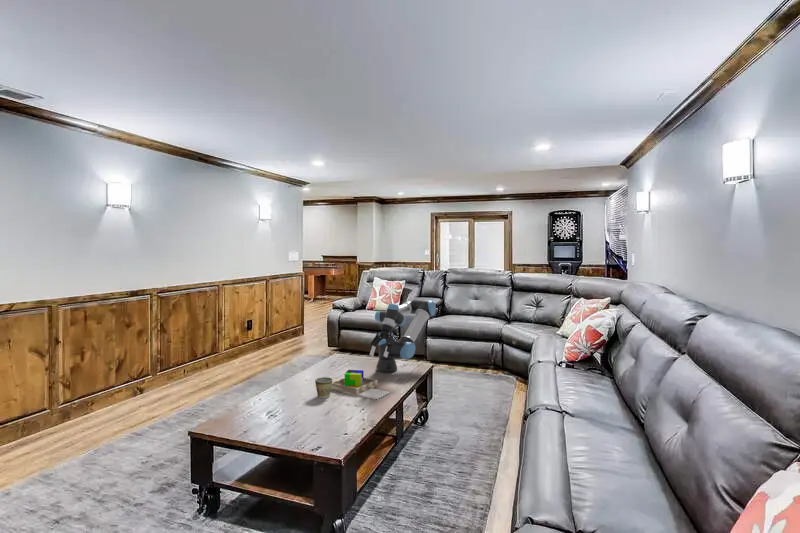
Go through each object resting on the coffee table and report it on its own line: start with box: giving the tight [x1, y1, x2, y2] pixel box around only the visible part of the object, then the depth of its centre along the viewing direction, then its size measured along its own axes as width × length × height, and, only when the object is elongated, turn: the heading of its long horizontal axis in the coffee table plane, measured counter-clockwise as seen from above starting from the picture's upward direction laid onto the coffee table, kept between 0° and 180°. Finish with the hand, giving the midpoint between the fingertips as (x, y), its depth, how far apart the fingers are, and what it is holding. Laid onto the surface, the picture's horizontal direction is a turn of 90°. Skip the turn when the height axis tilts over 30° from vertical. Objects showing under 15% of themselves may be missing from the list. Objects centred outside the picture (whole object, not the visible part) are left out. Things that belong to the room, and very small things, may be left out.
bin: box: [331, 377, 378, 396], centre depth 271 cm, size 21×21×4 cm
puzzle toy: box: [344, 369, 365, 388], centre depth 271 cm, size 10×10×10 cm
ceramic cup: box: [314, 376, 333, 399], centre depth 256 cm, size 13×10×10 cm
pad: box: [358, 388, 390, 400], centre depth 258 cm, size 13×13×1 cm
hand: (378, 356), depth 280 cm, fingers open, 13 cm apart
